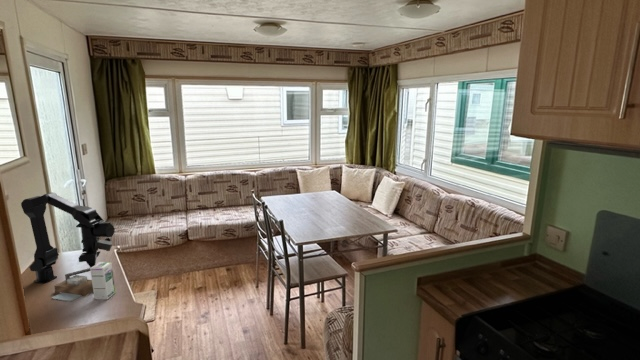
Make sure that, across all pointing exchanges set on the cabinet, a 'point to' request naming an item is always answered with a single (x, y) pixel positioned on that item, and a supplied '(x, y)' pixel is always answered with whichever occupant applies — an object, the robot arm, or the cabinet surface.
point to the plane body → (75, 288)
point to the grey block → (77, 280)
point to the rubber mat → (66, 296)
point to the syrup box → (102, 280)
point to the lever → (76, 273)
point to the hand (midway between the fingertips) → (93, 269)
